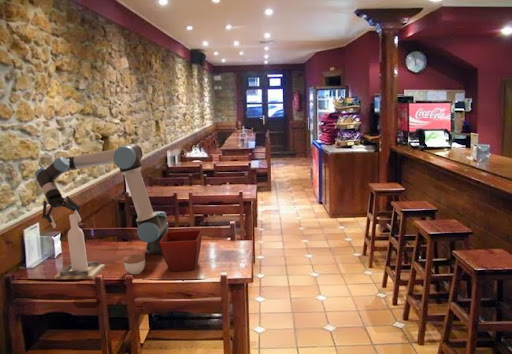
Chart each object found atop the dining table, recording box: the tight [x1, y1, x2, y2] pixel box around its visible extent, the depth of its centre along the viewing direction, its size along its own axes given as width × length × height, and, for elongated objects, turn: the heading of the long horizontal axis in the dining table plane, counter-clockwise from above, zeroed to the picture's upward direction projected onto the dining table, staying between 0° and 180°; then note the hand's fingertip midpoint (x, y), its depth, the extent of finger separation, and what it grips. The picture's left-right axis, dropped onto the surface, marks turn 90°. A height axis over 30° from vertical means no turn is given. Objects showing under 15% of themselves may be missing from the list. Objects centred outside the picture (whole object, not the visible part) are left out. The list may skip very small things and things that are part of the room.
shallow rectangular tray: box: [53, 261, 106, 280], centre depth 250 cm, size 20×16×4 cm
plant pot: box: [159, 229, 203, 272], centre depth 249 cm, size 19×19×17 cm
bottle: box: [66, 213, 88, 271], centre depth 247 cm, size 8×8×30 cm
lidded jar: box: [122, 254, 146, 275], centre depth 246 cm, size 11×11×9 cm
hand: (67, 223), depth 250 cm, fingers open, 13 cm apart
